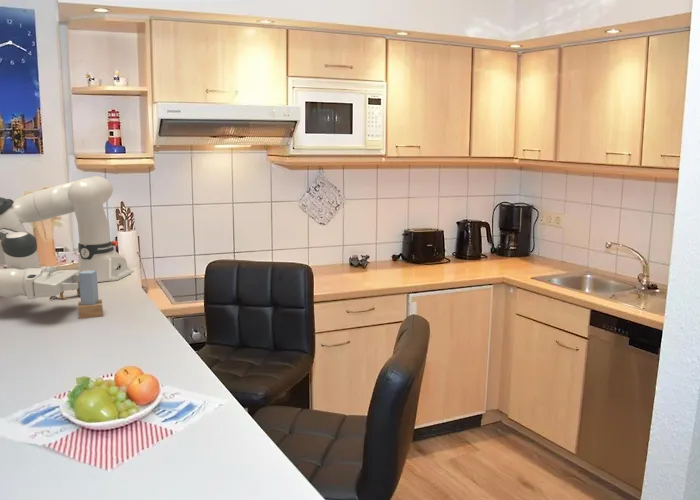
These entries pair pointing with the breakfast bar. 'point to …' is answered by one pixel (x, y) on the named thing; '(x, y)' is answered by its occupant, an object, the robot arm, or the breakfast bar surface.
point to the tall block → (88, 287)
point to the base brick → (90, 310)
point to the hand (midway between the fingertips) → (84, 282)
